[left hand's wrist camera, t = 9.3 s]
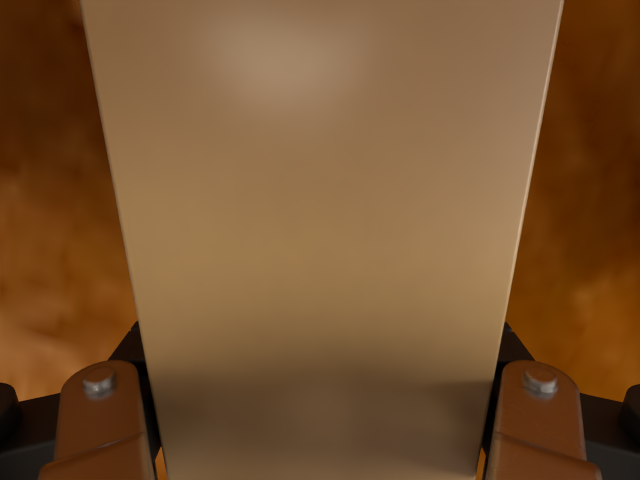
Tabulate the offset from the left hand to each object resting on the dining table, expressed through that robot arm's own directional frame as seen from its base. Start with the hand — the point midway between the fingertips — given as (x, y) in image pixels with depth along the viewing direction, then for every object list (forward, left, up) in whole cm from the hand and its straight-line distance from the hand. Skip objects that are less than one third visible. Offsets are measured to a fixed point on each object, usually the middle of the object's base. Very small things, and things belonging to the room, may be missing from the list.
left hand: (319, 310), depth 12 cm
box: (+2, +7, -6) cm, 9 cm away
